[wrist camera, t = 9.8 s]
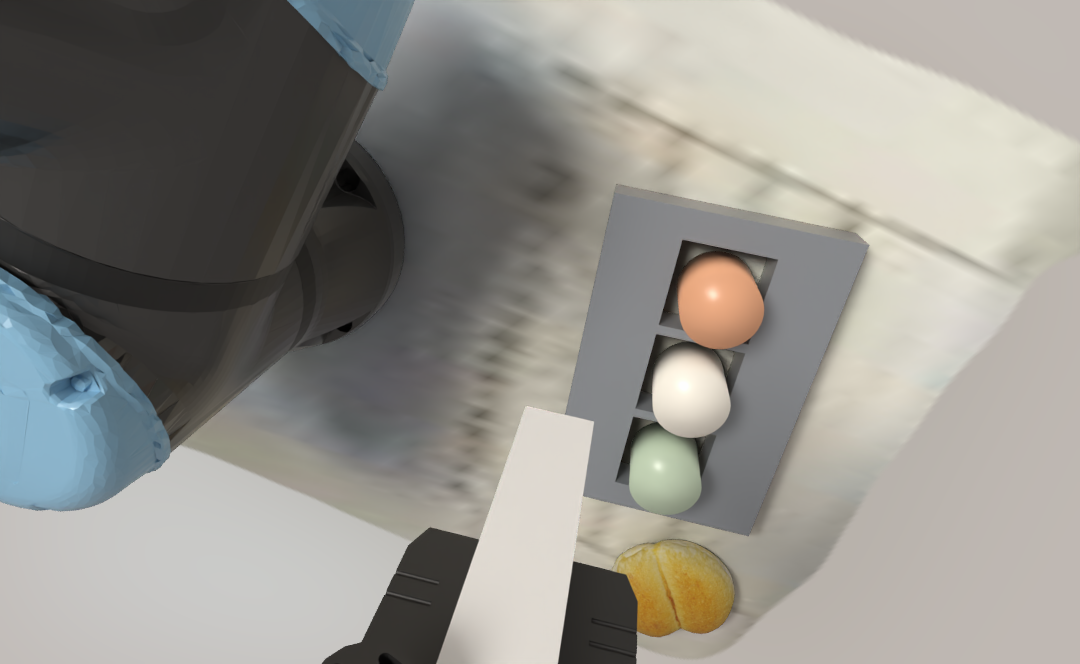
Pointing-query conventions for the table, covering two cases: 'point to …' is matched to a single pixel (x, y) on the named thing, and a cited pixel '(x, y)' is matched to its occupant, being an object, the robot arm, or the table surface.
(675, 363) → the cream button
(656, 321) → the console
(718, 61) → the table surface
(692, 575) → the bread roll
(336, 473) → the table surface
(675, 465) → the pale green rounded dome
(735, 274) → the brown egg
